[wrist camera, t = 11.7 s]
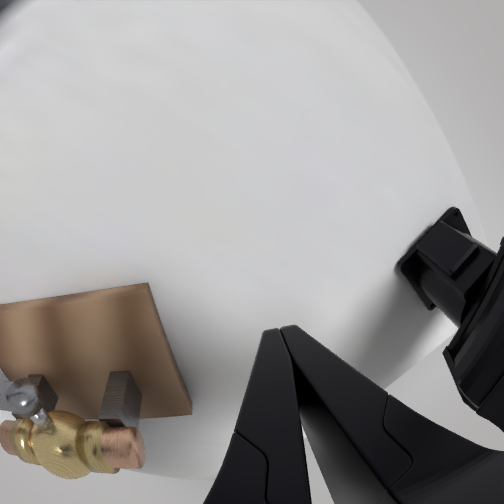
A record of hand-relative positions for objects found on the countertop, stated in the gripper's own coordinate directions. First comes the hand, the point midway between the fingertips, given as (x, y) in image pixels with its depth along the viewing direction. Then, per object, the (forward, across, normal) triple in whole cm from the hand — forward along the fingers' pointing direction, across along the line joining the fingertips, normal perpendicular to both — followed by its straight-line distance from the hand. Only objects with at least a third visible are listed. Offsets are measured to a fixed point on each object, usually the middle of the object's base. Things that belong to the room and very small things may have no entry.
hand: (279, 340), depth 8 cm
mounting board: (+11, +14, +10) cm, 20 cm away
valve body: (+10, +14, +10) cm, 20 cm away
